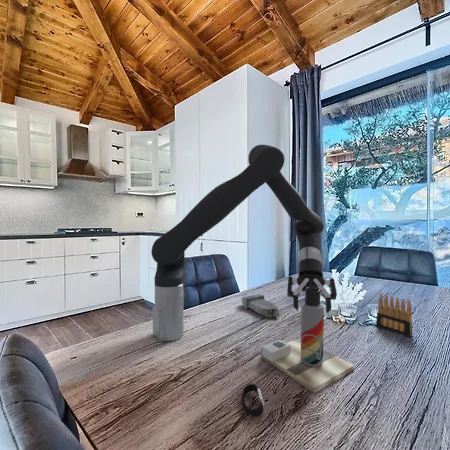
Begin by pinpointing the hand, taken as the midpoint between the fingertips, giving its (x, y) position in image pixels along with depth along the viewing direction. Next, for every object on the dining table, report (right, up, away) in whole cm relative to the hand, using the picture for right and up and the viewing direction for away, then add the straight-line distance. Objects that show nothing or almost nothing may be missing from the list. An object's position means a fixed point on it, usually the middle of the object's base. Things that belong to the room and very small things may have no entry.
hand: (312, 310), depth 78 cm
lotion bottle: (-2, -11, -7) cm, 14 cm away
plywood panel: (-4, -12, -6) cm, 14 cm away
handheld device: (-10, -11, +33) cm, 36 cm away
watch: (-20, -14, -22) cm, 32 cm away
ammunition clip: (+32, -12, +14) cm, 37 cm away
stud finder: (-11, -11, -4) cm, 16 cm away
